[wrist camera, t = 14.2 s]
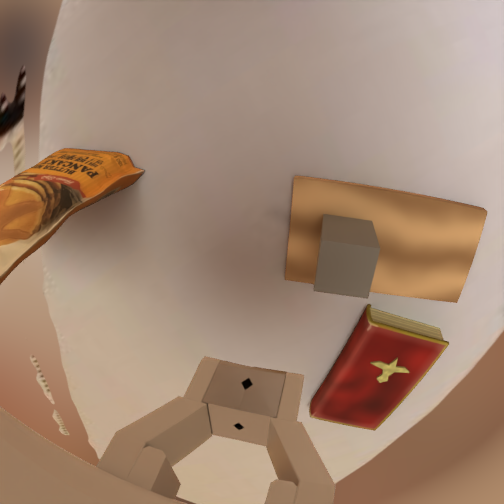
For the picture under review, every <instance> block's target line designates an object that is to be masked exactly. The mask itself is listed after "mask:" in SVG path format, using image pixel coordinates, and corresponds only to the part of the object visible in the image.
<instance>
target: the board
mask: <svg viewBox="0 0 504 504" xmlns="http://www.w3.org/2000/svg"><path fill="white" fill-rule="evenodd" d="M323 214H328V215H336V216H343V217H350V218H356V219H363V220H370V221H372V222H373V225H374V229H375V232H376V235H377V239H378V242H379V246H380V252H379V256H378V260H377V265H376V269H375V273H374V277H373V281H372V284H371V288H370V292H375V293H383V294H390V295H398V296H406V297H414V298H422V299H430V300H438V301H446V302H455V303H457V301H458V299H459V296H460V294H461V291H462V289H463V286H464V284H465V281H466V278H467V276H468V273H469V270H470V267H471V264H472V261H473V258H474V255H475V252H476V249H477V246H478V243H479V240H480V237H481V233H482V230H483V226H484V223H485V219H486V215H487V211H486V210H485V209H484V208H481V207H477V206H473V205H468V204H464V203H459V202H455V201H450V200H445V199H441V198H436V197H431V196H426V195H421V194H415V193H410V192H405V191H399V190H393V189H388V188H382V187H376V186H369V185H363V184H356V183H350V182H343V181H336V180H328V179H321V178H313V177H305V176H296V175H295V177H294V184H293V196H292V208H291V219H290V230H289V240H288V251H287V261H286V271H285V280H290V281H297V282H304V283H311V284H314V283H315V275H316V266H317V257H318V250H319V243H320V236H321V229H322V222H323Z"/></svg>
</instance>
